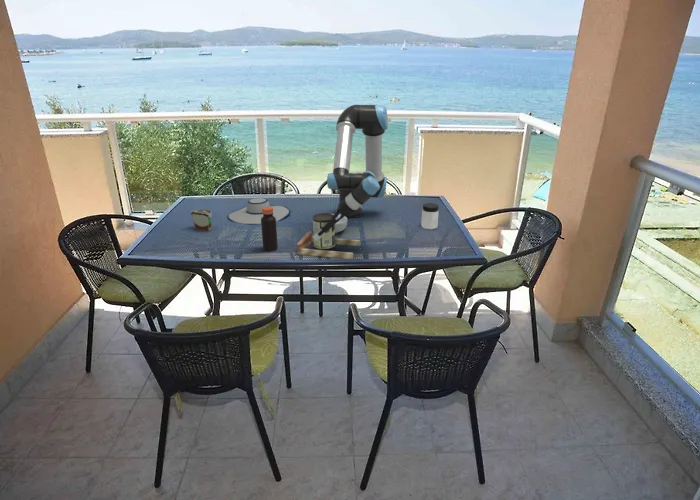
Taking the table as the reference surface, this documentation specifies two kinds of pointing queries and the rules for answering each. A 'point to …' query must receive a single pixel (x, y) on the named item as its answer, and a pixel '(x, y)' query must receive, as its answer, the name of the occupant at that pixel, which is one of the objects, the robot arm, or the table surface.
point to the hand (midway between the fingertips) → (317, 234)
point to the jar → (430, 216)
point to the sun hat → (257, 212)
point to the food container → (202, 219)
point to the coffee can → (327, 238)
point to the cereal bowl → (341, 224)
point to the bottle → (269, 229)
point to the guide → (309, 238)
